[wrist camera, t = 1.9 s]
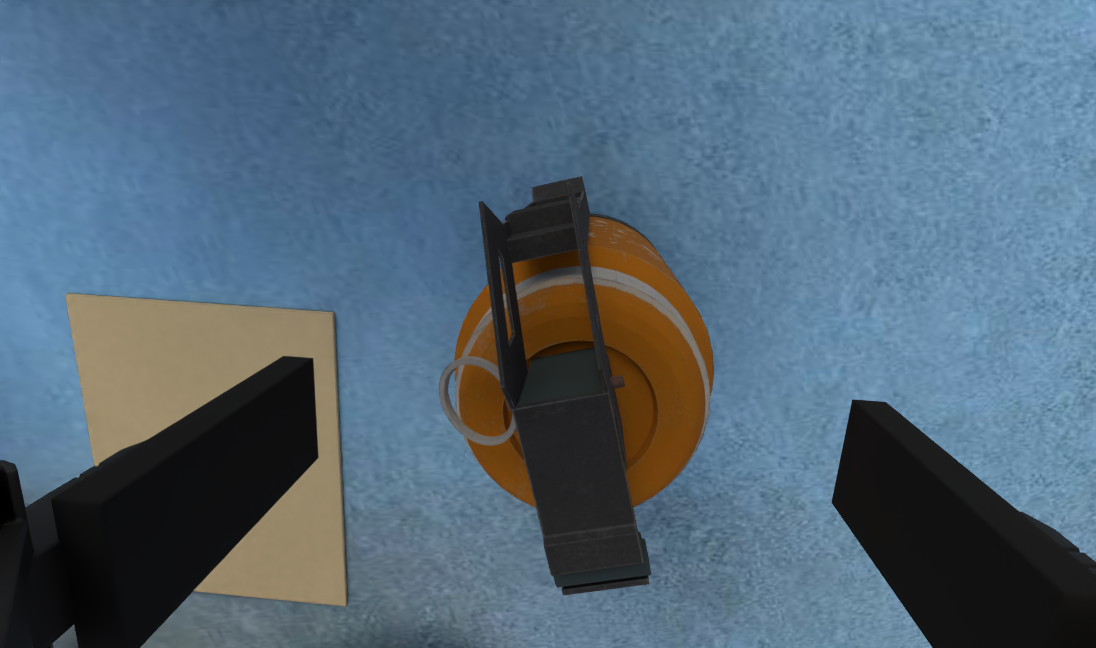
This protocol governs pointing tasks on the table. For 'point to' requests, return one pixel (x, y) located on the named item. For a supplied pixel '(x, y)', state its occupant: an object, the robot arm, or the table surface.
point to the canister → (580, 380)
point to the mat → (195, 379)
